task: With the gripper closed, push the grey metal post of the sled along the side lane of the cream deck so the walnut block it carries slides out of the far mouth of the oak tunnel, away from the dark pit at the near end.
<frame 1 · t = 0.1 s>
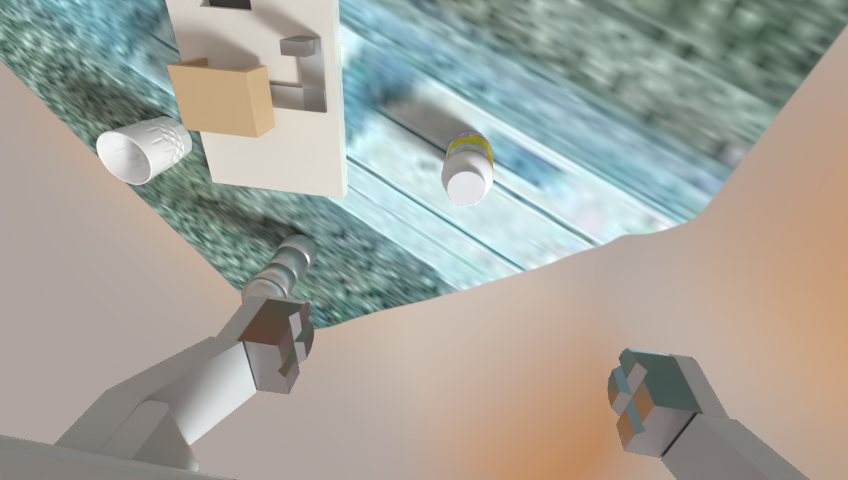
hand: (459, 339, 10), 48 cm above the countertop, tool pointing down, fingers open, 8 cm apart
plastic bottle: (303, 243, 71), on the countertop
deck: (247, 73, 55), on the countertop
supplement bottle: (469, 152, 57), on the countertop
sled: (262, 78, 49), point 5 cm above the countertop, slide at 0.0 cm
white cup: (173, 136, 62), on the countertop
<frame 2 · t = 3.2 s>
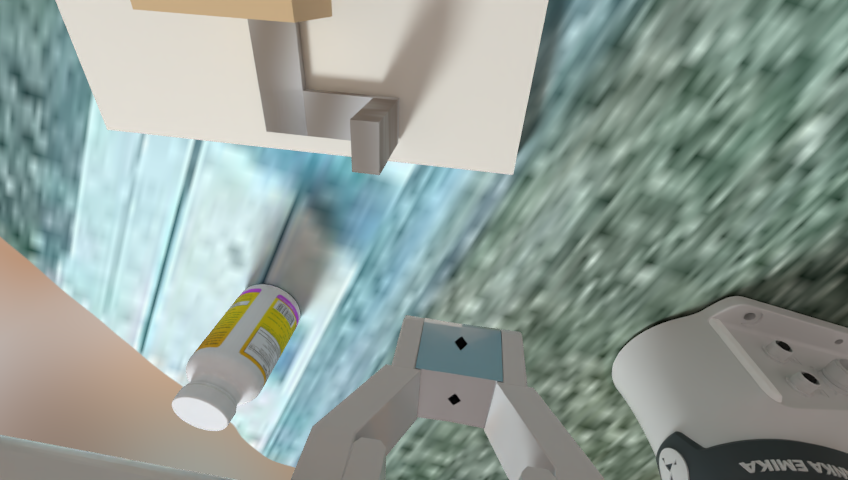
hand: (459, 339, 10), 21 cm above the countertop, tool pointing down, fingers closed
supplement bottle: (274, 303, 41), on the countertop
sled: (299, 16, 21), point 6 cm above the countertop, slide at 0.0 cm
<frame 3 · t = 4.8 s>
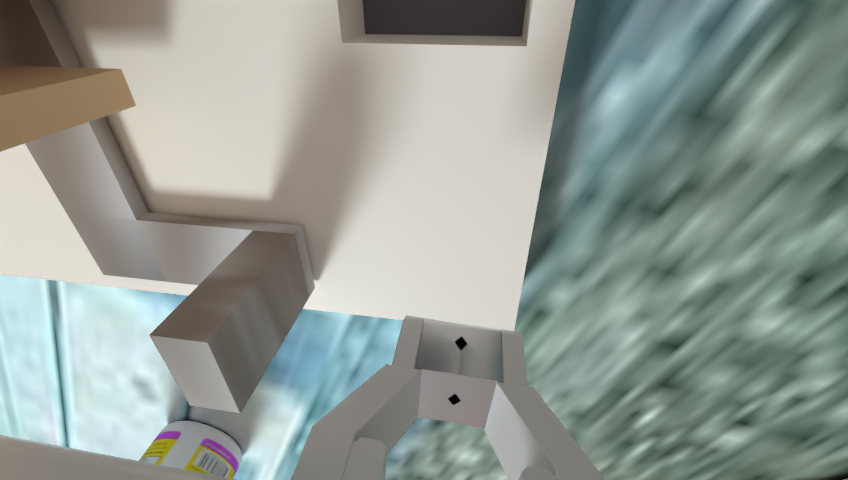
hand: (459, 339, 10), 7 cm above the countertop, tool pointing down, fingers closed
supplement bottle: (208, 438, 31), on the countertop
sled: (44, 121, 10), point 6 cm above the countertop, slide at 0.0 cm
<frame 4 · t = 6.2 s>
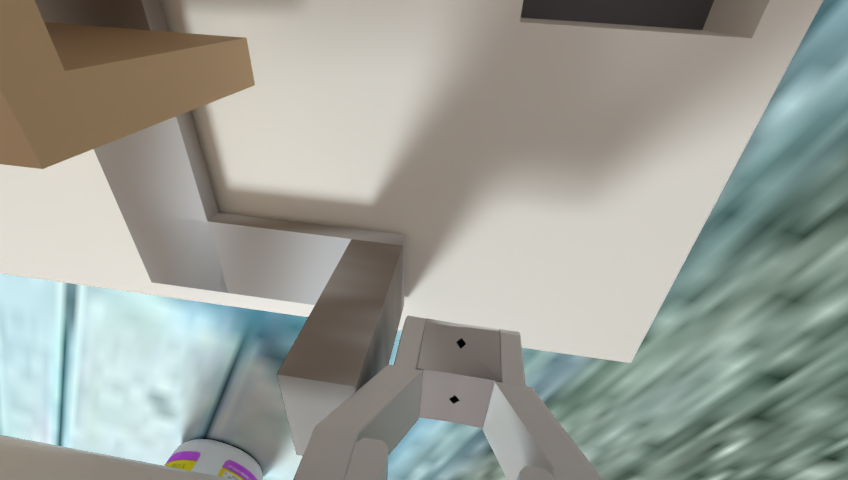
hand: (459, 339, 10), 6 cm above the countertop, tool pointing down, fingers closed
supplement bottle: (225, 457, 29), on the countertop
sled: (145, 97, 8), point 5 cm above the countertop, slide at 0.2 cm, touching gripper
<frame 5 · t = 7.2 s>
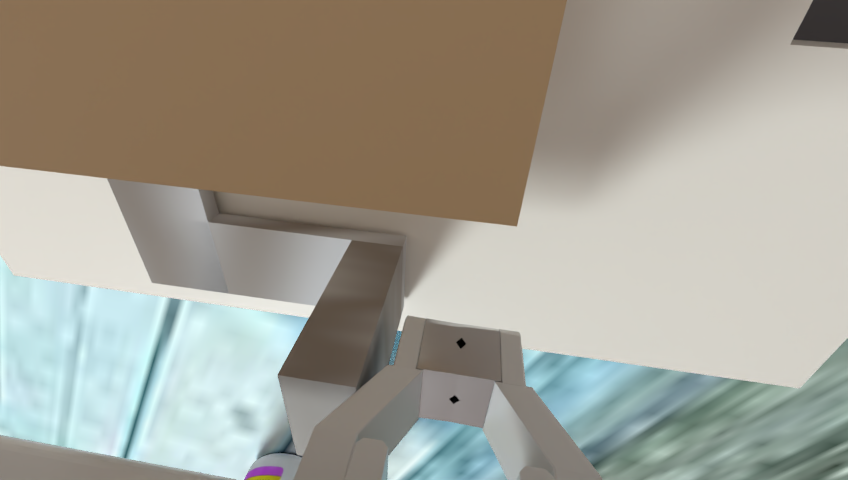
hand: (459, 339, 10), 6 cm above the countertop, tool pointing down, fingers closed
supplement bottle: (299, 471, 28), on the countertop
sled: (147, 98, 8), point 5 cm above the countertop, slide at 6.1 cm, touching gripper
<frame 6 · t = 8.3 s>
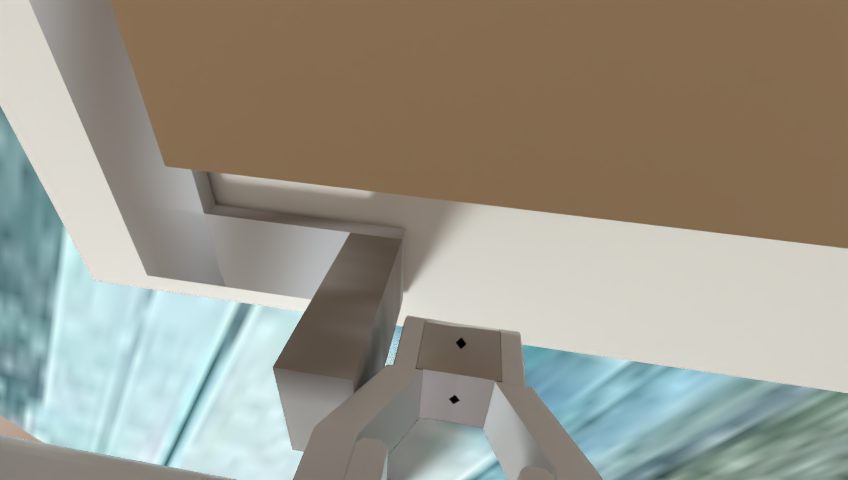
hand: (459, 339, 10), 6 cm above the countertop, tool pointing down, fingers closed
sled: (140, 83, 8), point 6 cm above the countertop, slide at 10.0 cm, touching gripper
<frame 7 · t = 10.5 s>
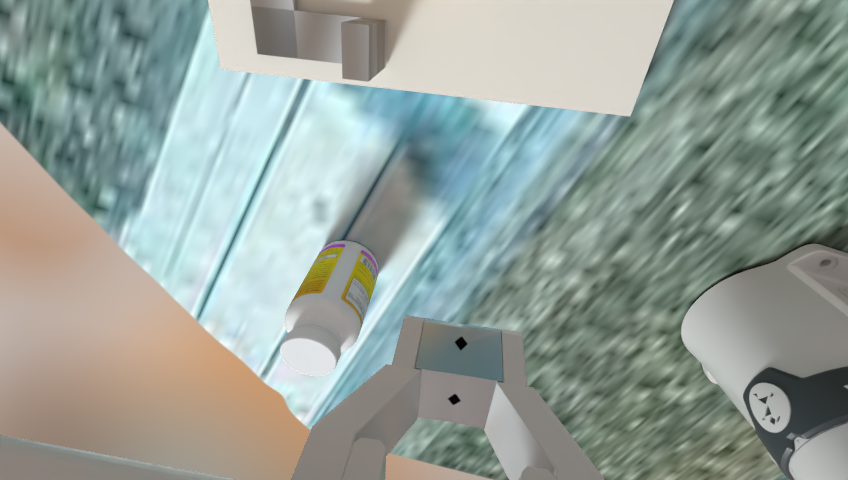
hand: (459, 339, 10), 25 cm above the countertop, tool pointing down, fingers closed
supplement bottle: (350, 262, 42), on the countertop
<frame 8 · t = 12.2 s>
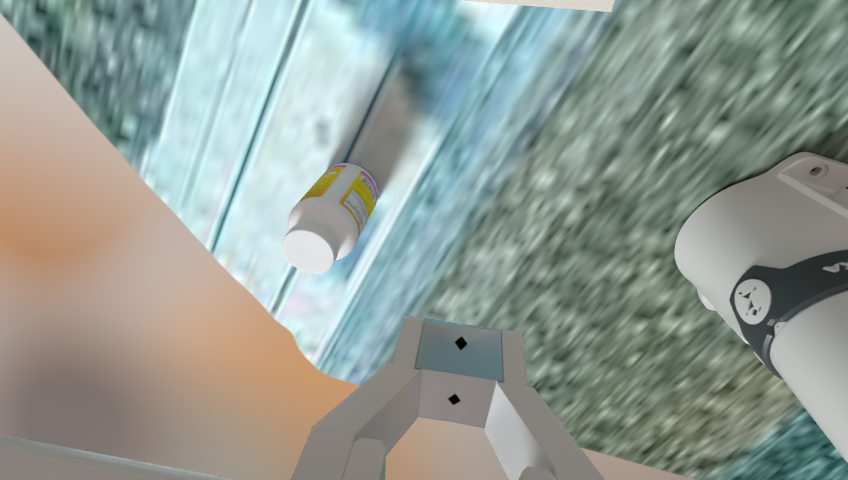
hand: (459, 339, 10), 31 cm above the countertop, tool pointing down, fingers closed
supplement bottle: (351, 187, 44), on the countertop
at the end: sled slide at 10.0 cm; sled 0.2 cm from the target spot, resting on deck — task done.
